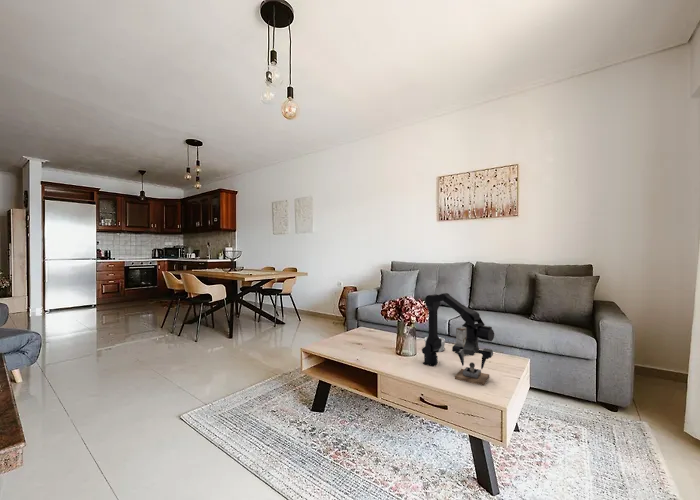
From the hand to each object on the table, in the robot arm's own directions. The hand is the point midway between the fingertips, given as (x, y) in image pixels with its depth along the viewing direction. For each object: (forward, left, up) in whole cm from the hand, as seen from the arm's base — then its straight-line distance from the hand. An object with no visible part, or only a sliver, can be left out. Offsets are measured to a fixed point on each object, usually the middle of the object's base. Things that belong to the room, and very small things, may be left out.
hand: (472, 367), depth 162 cm
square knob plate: (0, 0, -6) cm, 6 cm away
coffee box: (-13, +36, -6) cm, 39 cm away
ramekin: (-32, +34, -6) cm, 47 cm away
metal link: (0, 0, -4) cm, 4 cm away
